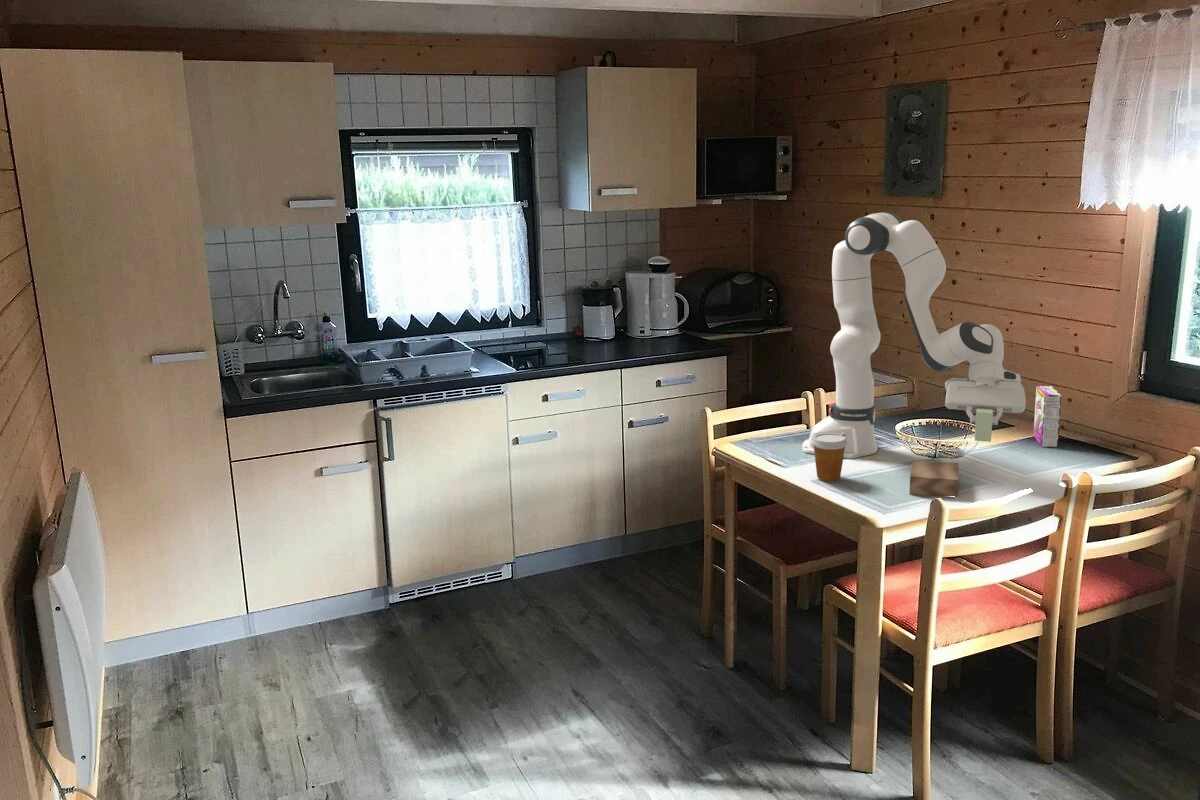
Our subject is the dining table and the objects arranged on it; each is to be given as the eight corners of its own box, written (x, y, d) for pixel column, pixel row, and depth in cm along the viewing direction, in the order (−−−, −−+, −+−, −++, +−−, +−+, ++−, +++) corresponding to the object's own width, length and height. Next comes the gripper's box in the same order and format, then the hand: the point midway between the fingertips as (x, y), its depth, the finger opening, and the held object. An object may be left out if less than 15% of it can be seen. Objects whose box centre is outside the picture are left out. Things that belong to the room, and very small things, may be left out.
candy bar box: (1031, 436, 296) (1035, 385, 292) (1049, 437, 295) (1053, 385, 291) (1040, 447, 286) (1044, 394, 282) (1058, 447, 285) (1062, 394, 281)
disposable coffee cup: (809, 472, 272) (810, 432, 269) (843, 472, 271) (844, 432, 268) (813, 484, 263) (813, 442, 260) (848, 483, 262) (849, 442, 259)
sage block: (974, 440, 255) (976, 412, 253) (974, 436, 259) (976, 408, 256) (990, 441, 254) (993, 413, 252) (990, 437, 257) (992, 409, 255)
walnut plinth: (909, 494, 253) (910, 476, 251) (911, 477, 265) (912, 460, 264) (957, 497, 248) (958, 479, 247) (957, 480, 261) (958, 463, 260)
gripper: (945, 371, 262) (943, 414, 255) (1026, 375, 255) (1026, 420, 248) (945, 383, 267) (942, 426, 260) (1024, 387, 260) (1023, 431, 254)
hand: (983, 423), depth 254 cm, fingers closed on sage block, 4 cm apart
